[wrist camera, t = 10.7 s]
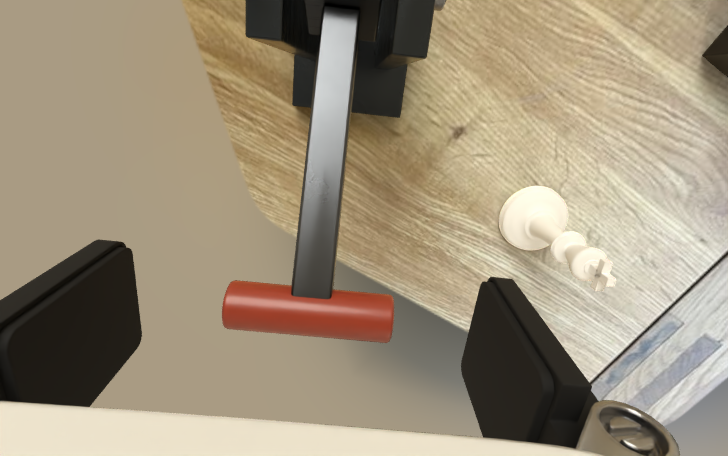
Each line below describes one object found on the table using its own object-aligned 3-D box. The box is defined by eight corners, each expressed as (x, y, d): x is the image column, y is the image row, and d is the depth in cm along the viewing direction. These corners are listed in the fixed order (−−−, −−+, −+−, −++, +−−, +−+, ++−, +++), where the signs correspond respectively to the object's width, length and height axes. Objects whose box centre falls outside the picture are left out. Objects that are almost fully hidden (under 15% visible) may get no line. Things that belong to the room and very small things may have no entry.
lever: (384, 334, 12) (394, 353, 10) (237, 321, 12) (211, 337, 10) (418, -34, 13) (434, -99, 11) (282, -51, 13) (267, -122, 10)
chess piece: (492, 244, 30) (550, 319, 21) (506, 182, 28) (578, 233, 19) (554, 250, 30) (641, 327, 21) (573, 189, 29) (676, 242, 19)
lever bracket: (398, 116, 27) (443, 162, 12) (295, 104, 26) (210, 137, 12) (422, -59, 23) (529, -301, 8) (303, -75, 23) (196, -356, 8)
